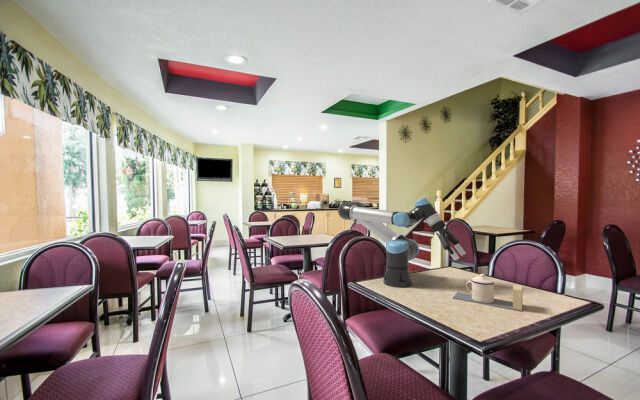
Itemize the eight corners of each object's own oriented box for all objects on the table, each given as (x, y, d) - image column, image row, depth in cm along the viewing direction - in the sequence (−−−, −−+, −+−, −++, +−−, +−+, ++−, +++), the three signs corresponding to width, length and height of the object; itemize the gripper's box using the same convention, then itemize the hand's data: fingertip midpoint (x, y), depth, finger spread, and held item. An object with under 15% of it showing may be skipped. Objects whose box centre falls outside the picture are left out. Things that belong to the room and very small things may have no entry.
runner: (452, 298, 131) (452, 280, 131) (457, 292, 139) (457, 275, 139) (521, 311, 115) (521, 291, 115) (522, 304, 123) (522, 285, 123)
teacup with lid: (498, 301, 126) (498, 275, 126) (488, 305, 121) (487, 278, 121) (471, 293, 136) (471, 269, 136) (461, 297, 131) (461, 272, 131)
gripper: (434, 221, 144) (460, 257, 136) (448, 217, 163) (472, 249, 155) (422, 228, 148) (447, 265, 140) (437, 224, 167) (460, 256, 159)
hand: (460, 257), depth 148 cm, fingers open, 13 cm apart
